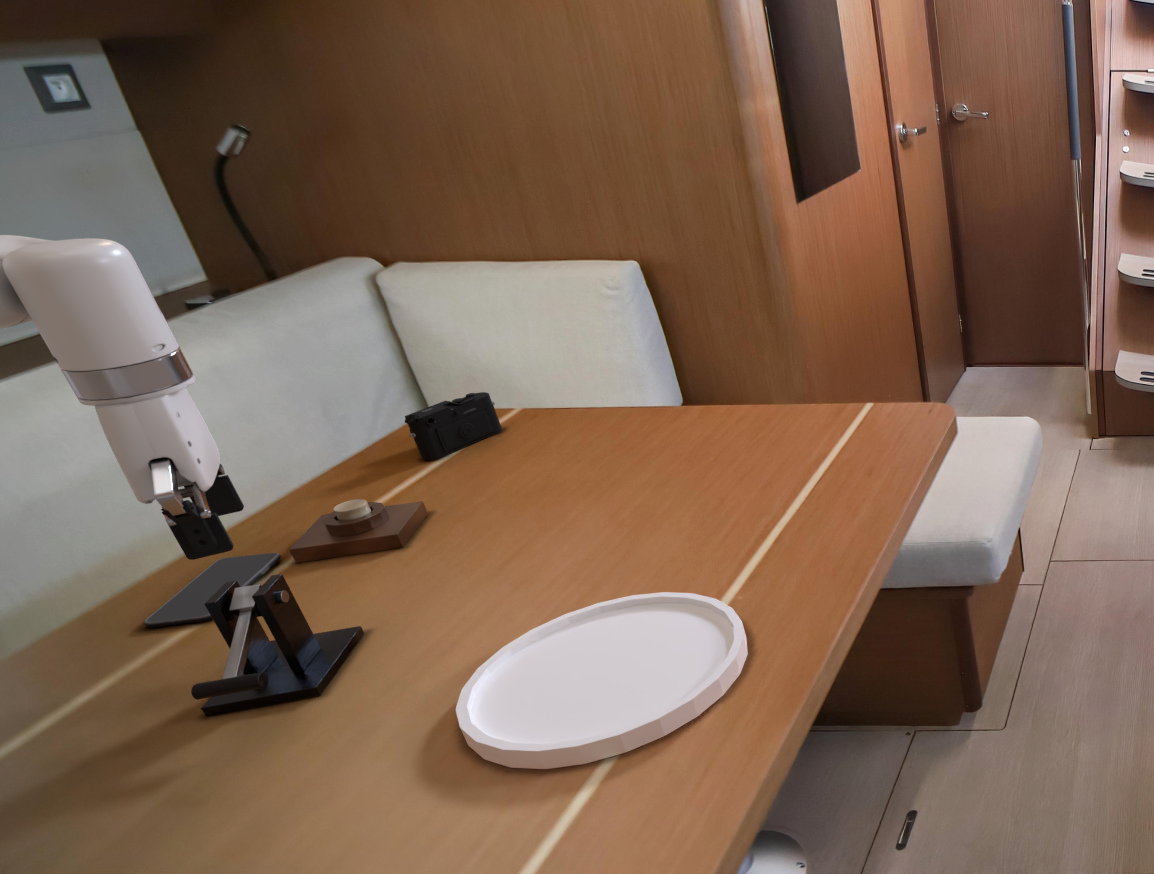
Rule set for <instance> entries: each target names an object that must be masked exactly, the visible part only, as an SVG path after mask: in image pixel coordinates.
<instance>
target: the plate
mask: <svg viewBox="0 0 1154 874" xmlns="http://www.w3.org/2000/svg"><path fill="white" fill-rule="evenodd" d="M747 639H748V638H747V634H746V630H745V627H744V623H743V621H742V619H741V618H740V617H739V615H738V614H737V612H736V611H735V609H734V608H733V607H731V606H729V605H728V604H726V603H724V602H723V601H721V600H719V599H717V598H715V597H710V596H706V595H702V594H698V593H695V592H671V591H662V592H661V591H660V592H651V593H642V594H633V595H632V594H631V595H627V596H623V597H619V598H614V599H610V600H605V601H600V602H596V603H594V604H591V605H588V606H586V607H582V608H579V609H576V610H573V611H569V612H567V613H565V614H562V615H560V616H557V617H556V618H553V619H551V620H549V621H547V622H545V623H543V624H540V625H538V626H536V627H534V628H532V629H530V630H528V631H526V632H525V633H523V634H522V635H520V636H519V637H517V638H515V639H514V640H512V641H511V642H509V643H507V644H506V645H504V646H502V647H501V648H500V649H499V650H497V651H496V652H495V653H494V654H493V655H491V656H490V657H489V658H488V659H487V660H485V661H484V662H483V663H482V664H480V666H479V667H477V668H476V670H475V671H474V673H473V674H472V675H471V676H470V678H468V680H467V681H466V683H465V684H464V685H463V687H462V688H461V691H460V694H459V696H458V700H457V703H456V706H455V709H454V710H455V713H456V717H457V721H458V726H459V729H460V731H461V733H462V734H463V737H464V739H465V742H466V744H467V746H468V747H469V748H470V749H472V750H473V751H474V752H475V753H476V754H478V756H480V757H481V758H482V759H483V760H485V761H487V762H492V763H494V764H497V765H500V766H501V765H502V766H504V767H506V768H511V769H531V770H532V769H533V770H550V769H557V768H564V767H565V768H566V767H572V766H580V765H586V764H590V763H593V762H597V761H600V760H604V759H608V758H612V757H615V756H618V755H622V754H626V753H628V752H630V751H633V750H635V749H638V748H639V747H641V746H645V745H647V744H650V743H652V742H654V741H656V740H658V739H661V738H664V737H665V736H667V735H669V734H671V733H672V732H674V731H676V730H677V729H679V728H680V727H682V726H684V725H686V724H687V723H689V722H691V721H693V720H695V719H696V718H697V717H699V716H700V715H701V714H703V713H704V712H705V711H706V710H708V708H710V707H711V706H712V705H713V704H715V703H716V702H717V701H718V700H719V699H721V698H722V697H724V695H725V694H726V693H727V691H728V690H729V689H730V688H731V687H732V685H733V684H734V683H735V681H736V680H737V679H738V678H739V676H740V675H741V674H742V670H743V668H744V665H745V663H746V660H747V658H748V654H749V653H748V642H747V641H748V640H747Z"/></svg>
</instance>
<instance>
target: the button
mask: <svg viewBox="0 0 1154 874" xmlns="http://www.w3.org/2000/svg"><path fill="white" fill-rule="evenodd" d="M367 502H368V501H367V500H366V499H365V498H364V499H362V498H356V499H351V500H350V499H349V500H347V501H343V502H341V503H339V504H337V505H336V506H334V507H333V509H332V510H333V512H335V514H336V517H337V519H338V520H339V521H347V520H354V519H357V518H361V517H363V516H365V515H367V514H369V513H371V509H370V507H369V505H368V503H367Z"/></svg>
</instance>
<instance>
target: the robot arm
mask: <svg viewBox="0 0 1154 874" xmlns="http://www.w3.org/2000/svg"><path fill="white" fill-rule="evenodd" d="M29 322H33V324H34V326H35V328H36V329H37V331H38V333H39V334H40V336H41V338H42V340H43V342H44V343H45V345H46V347H47V349H48V350H49V352H50V353H51V355H52V357H53V359H54V361H55V362H56V364H57V366H58V367H59V369H60V370H61V372H62V374H63V376H64V377H65V379H66V381H67V382H68V384H69V386H70V388H71V390H72V392H73V394H75V397H76V398H77V400H78V402H79V403H80V404H81V405H84V406H89V407H90V406H93V407H94V408H95V412H96V415H97V418H98V421H99V423H100V426H101V428H102V431H103V433H104V436H105V438H106V440H107V442H108V444H109V447H110V448H111V451H112V453H113V455H114V457H115V459H116V461H117V463H118V465H119V467H120V469H121V471H122V473H123V475H124V477H125V479H126V481H127V483H128V485H129V486H130V488H131V490H132V492H133V494H134V496H135V498H136V500H137V501H138V502H139V503H142V504H144V505H145V504H146V505H148V504H149V505H150V504H152V503H153V502H154V501H155V500H156V501H157V503H158V504H159V505H160V506H161V508H160V511H161V514H162V515H163V516H164V519H165V522H166V524H167V525H168V527H169V530H170V531H171V533H172V535H173V536H174V538H175V540H176V542H177V543H178V545H179V547H180V548H181V550H182V552H183V555H184V556H185V557H186V559H188V560H191V561H194V560H199V559H202V558H208V557H211V556H214V555H215V556H216V555H219V554H224V553H229V552H231V551H232V550H233V549H234V545H235V544H234V543H233V541H232V539H231V537H230V535H229V533H228V532H227V530H226V528H225V526H224V524H223V523H222V521H221V518H220V516H225V515H230V514H234V513H239V512H242V511H243V510H244V508H245V505H244V503H243V500H242V499H241V498H240V495H239V494H238V492H237V490H236V488H235V486H234V484H233V482H232V480H231V478H230V476H229V475H228V474H226V471H225V468H224V466H223V465H222V464H221V461H222V460H221V459H222V458H221V452H220V449H219V447H218V445H217V442H216V440H215V439H214V436H213V434H212V432H211V430H210V428H209V427H208V424H207V423H206V420H205V419H204V417H203V416H202V414H201V412H200V410H199V408H198V406H197V405H196V403H195V401H194V399H193V398H192V396H191V394H190V391H189V390H188V389H187V388H188V387H189V386H192V385H193V384H195V383H196V380H197V378H196V376H195V374H194V372H193V370H192V367H191V366H190V364H189V363H188V360H187V358H186V356H185V354H184V352H183V350H182V349H181V346H180V345H179V344H178V341H177V339H176V337H175V336H174V334H173V331H172V330H171V328H170V325H169V324H168V322H167V320H166V318H165V316H164V313H163V312H162V310H161V309H160V307H159V305H158V303H157V301H156V299H155V297H154V295H153V293H152V291H151V289H150V287H149V285H148V283H147V282H146V279H145V277H144V275H143V274H142V272H141V269H140V268H139V266H138V264H137V262H136V260H135V258H134V256H133V254H132V253H131V252H130V250H129V249H128V248H127V247H126V246H125V245H123V244H121V243H119V242H118V241H115V240H111V239H107V238H97V237H95V238H94V237H93V238H92V237H87V238H86V237H84V238H68V239H60V240H53V239H52V240H51V239H44V238H37V237H30V236H24V235H14V234H13V235H12V234H0V330H2V329H6V328H11V327H14V326H15V327H16V326H18V325H23V324H25V323H26V324H27V323H29ZM187 498H189V499H190V500H189V499H187ZM184 499H186V500H184Z"/></svg>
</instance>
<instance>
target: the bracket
mask: <svg viewBox="0 0 1154 874" xmlns="http://www.w3.org/2000/svg"><path fill="white" fill-rule="evenodd" d="M238 587H240V586H239V584H238V582H237V581H231V582H226V583H225V584H224V585H223V586H222V587H221V588H220V589H219V590H218V591H217V592H216V593H215V594H214V595H213V596H212V597H211V598H210V599H209V600H208V601H207V602H206V603H205V604H204V605H205V606H206V608H207V610H208V612H209V613H210V615H211V617H212V619H211V620H213V622H214V624H215V625H216V627H217V629H218V631H219V632H220V634H221V636H222V638H223V640H224V641H225V643H226V645H227V646H228V648H229V649H230V648H231V644H232V640H233V636H234V632H235V628H236V624H237V620H238V616H237V615H236V614H234V613H233V612H231V611H229V608H230V604H231V601H232V597H233V593H234V589H235V588H238ZM252 598H253V600H254V602H255V603H256V605H257V607H258V609H259V611H260V613H261V615H262V616H261V617H262V618H263V620H264V623H265V624H266V626H267V628H268V629H269V631H270V633H271V635H272V637H273V639H274V640H270V639H269V637H268V635H267V633H266V631H265V629H264V628H263V626H262V624H261V622H260V620H259V619H258V617H257V618H256V622H255V626H254V630H253V634H252V638H251V642H250V647H249V651H248V655H247V659H246V663H245V667H244V671H243V675H249V674H254V673H260V672H264V673H266V674H267V676H268V685H267V686H266V687H265V688H260V689H254V690H249V691H243V692H238V693H232V694H226V695H221V696H215V697H210V698H207V700H206V701H205V702H204V703H203V705H202V706H201V707H200V711H202V713H203V715H204V716H205V717H210V716H211V717H212V716H216V715H222V714H227V713H228V714H229V713H232V712H238V711H243V710H248V709H254V708H259V707H260V708H261V707H265V706H271V705H277V704H281V703H286V702H292V701H298V700H303V699H309V698H313V697H314V698H315V697H320V696H321V695H322V694H323V693H324V691H325V690H326V689H327V687H328V686H329V684H330V683H331V681H332V680H333V679H334V677H335V676H336V675H337V673H338V672H339V670H340V669H341V667H342V666H343V665H344V663H345V662H346V660H347V659H348V657H349V656H350V655H351V653H352V652H353V651H354V650H355V648H356V647H357V645H358V644H359V642H360V641H361V639H362V638H363V637H364V635H365V631H364V629H363V627H362V625H358V626H357V625H356V626H352V627H346V628H339V629H334V630H327V631H321V632H315V633H314V632H313V631H312V629H311V627H310V625H309V622H308V621H307V619H306V617H305V615H304V613H303V612H302V610H301V607H300V606H299V603H298V602H297V600H296V598H295V596H294V594H293V592H292V590H291V588H290V587H289V584H288V582H287V580H286V579H285V576H284V574H283V573H278V574H272V575H270V577H268V578H267V580H266V581H265V582H264V583H263V584H261V587H260V588H259V589H258V590H257V591H256V593H255V594H254V595H253V596H252ZM243 675H242V676H243Z"/></svg>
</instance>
